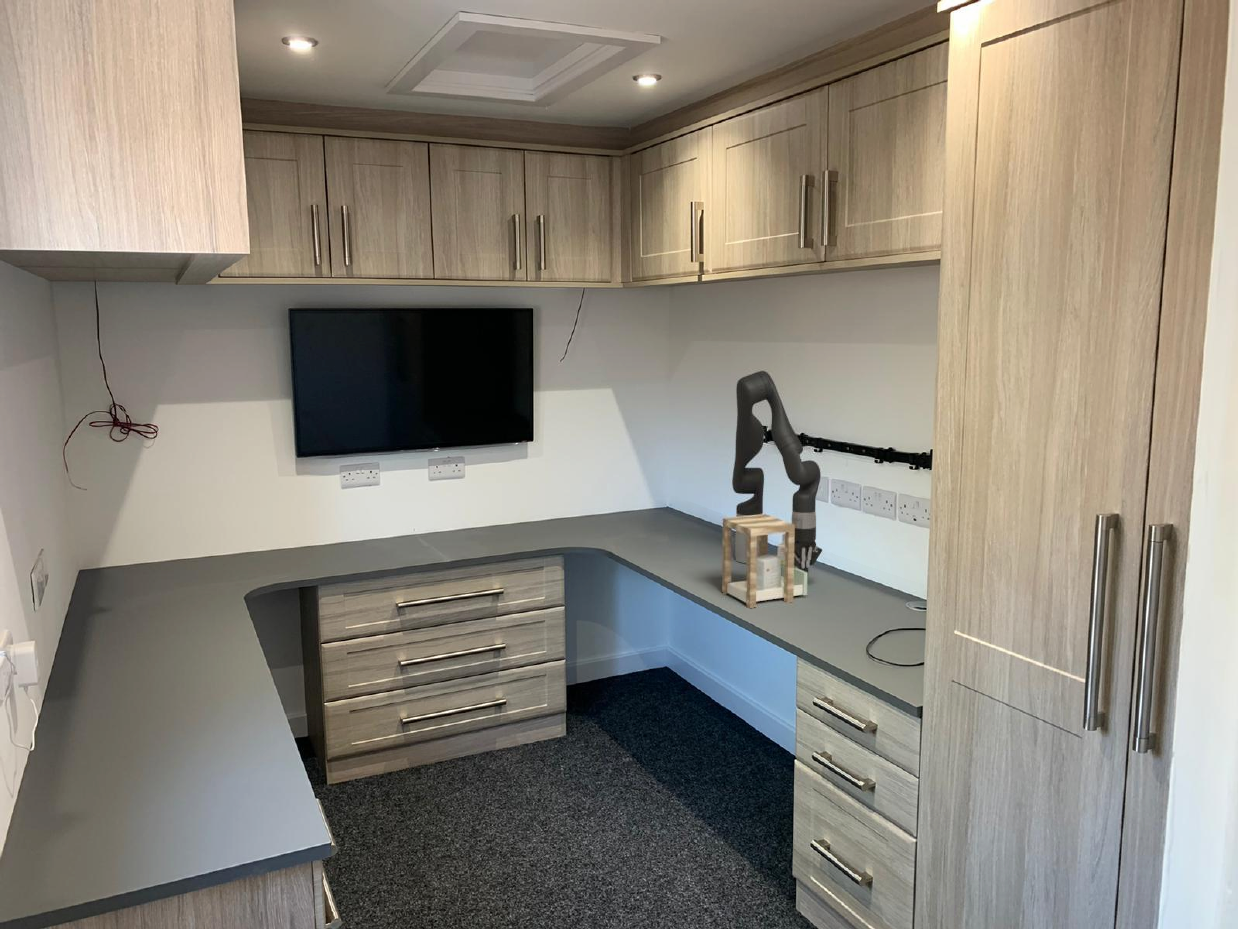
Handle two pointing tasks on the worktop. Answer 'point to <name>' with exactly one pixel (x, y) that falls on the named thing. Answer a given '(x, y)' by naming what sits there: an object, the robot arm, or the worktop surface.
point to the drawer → (799, 589)
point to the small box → (768, 572)
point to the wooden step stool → (753, 528)
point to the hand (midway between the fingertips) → (803, 578)
